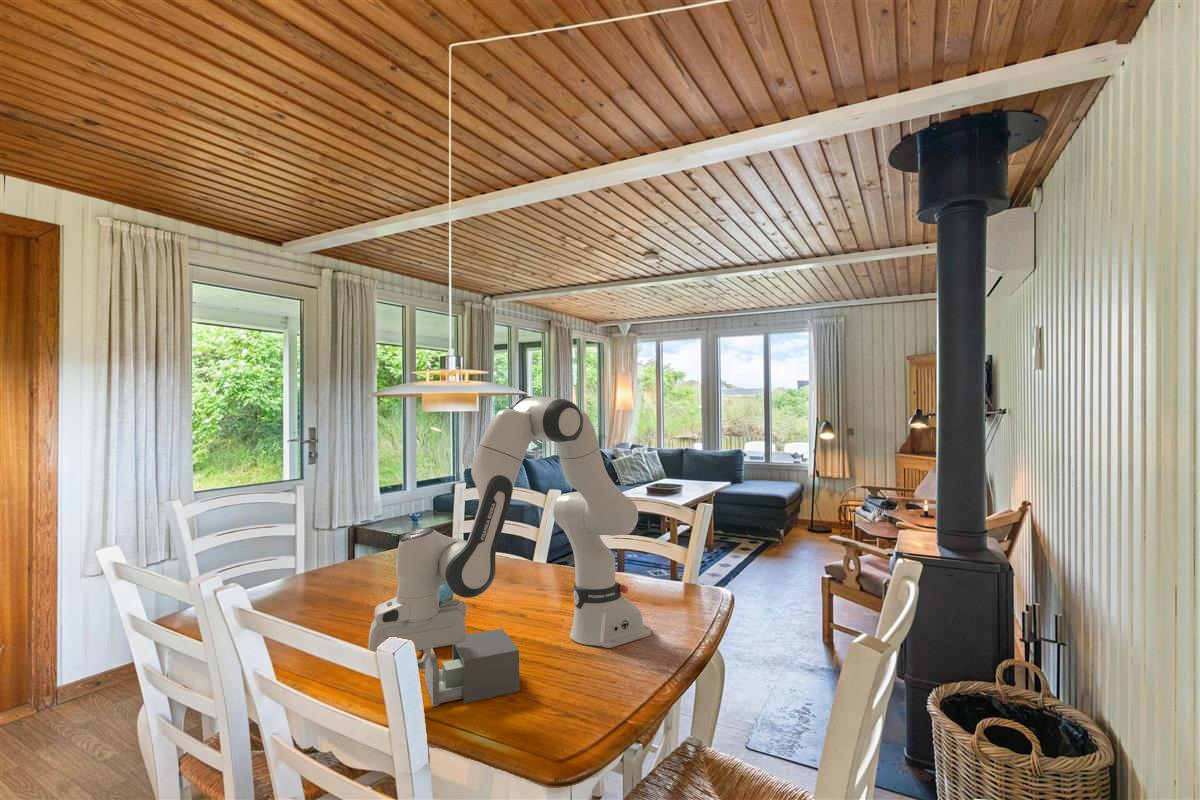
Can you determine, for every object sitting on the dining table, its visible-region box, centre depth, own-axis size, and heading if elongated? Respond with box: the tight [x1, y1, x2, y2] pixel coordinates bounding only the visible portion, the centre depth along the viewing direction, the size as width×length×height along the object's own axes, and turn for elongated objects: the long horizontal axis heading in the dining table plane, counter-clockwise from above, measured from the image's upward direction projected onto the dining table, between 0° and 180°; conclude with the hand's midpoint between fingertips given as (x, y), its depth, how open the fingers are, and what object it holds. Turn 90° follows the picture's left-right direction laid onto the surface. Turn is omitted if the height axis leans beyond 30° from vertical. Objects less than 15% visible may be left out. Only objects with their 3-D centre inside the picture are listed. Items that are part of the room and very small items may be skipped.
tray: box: [424, 648, 463, 708], centre depth 125 cm, size 12×12×8 cm
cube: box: [442, 659, 463, 689], centre depth 125 cm, size 4×4×4 cm
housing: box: [451, 628, 520, 704], centre depth 128 cm, size 12×14×9 cm
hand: (418, 669), depth 122 cm, fingers closed
